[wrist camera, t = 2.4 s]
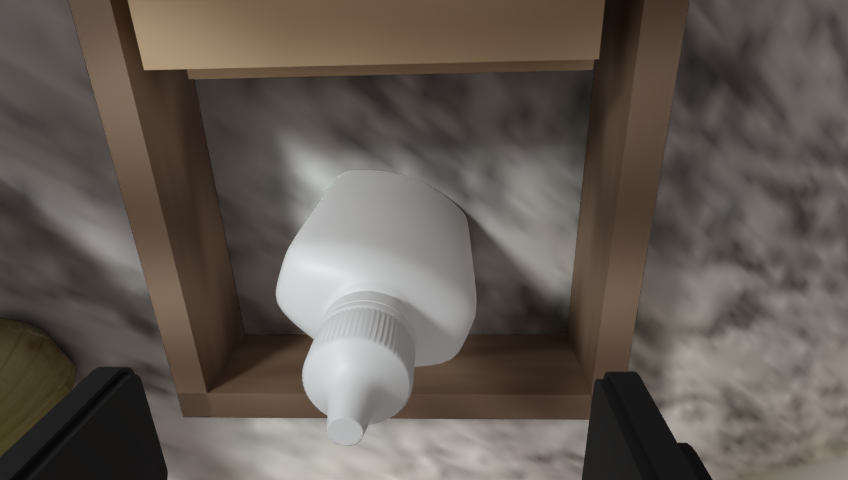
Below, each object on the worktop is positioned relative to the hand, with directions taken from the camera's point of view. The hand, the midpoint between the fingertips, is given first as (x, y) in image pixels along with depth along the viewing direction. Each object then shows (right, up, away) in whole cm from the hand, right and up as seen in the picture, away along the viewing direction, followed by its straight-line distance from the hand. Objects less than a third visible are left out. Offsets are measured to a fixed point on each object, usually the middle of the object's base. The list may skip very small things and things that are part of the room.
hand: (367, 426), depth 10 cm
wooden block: (0, +12, +7) cm, 14 cm away
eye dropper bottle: (0, +5, +10) cm, 12 cm away
